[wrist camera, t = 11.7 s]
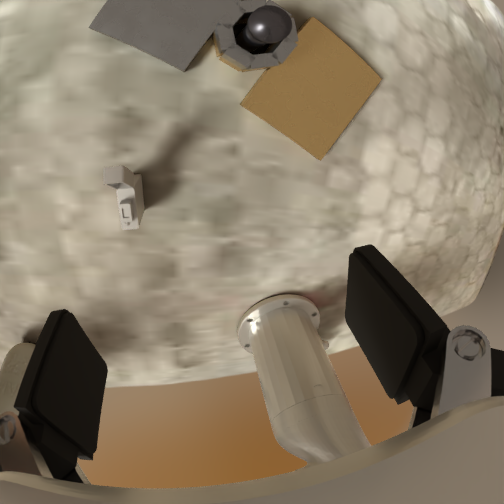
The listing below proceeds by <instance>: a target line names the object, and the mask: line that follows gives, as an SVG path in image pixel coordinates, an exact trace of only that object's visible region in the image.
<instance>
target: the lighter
mask: <svg viewBox="0 0 504 504" xmlns="http://www.w3.org/2000/svg"><path fill="white" fill-rule="evenodd" d="M103 184H104V185H106V186H108V187H111V188H113V189H117V191H116V193H117V200H118V208H119V214H120V221H121V227H122V229H123V230H129V229H138V228H139V225H140V222H141V219H142V216H143V213H144V210H145V207H144V197H143V186H142V176H141V175H140V174H136V175H134V173H133V172H132V171H130V170H129V169H128V168H126V167H125V166H123V165H120V166H111V167H104V168H103Z"/></svg>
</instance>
